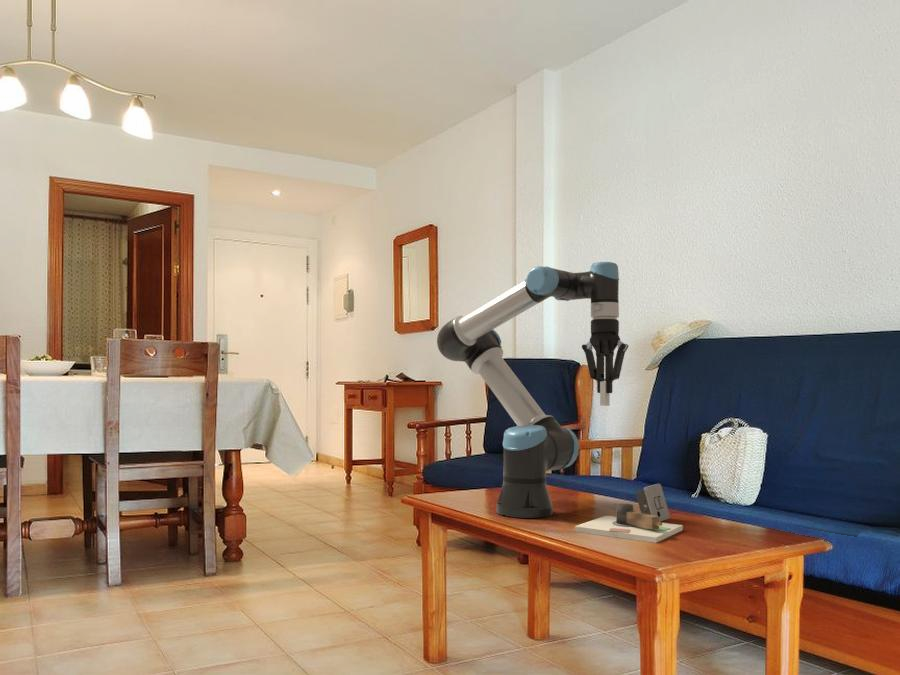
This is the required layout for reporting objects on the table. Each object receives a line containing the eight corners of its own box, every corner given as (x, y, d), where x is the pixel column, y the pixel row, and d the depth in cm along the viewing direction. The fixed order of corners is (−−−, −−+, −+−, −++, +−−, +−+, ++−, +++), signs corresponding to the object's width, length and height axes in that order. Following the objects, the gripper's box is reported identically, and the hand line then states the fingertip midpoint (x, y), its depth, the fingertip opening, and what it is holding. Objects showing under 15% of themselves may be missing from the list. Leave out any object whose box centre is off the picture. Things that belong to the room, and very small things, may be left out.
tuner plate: (573, 531, 176) (573, 525, 176) (606, 520, 191) (606, 514, 191) (655, 543, 165) (655, 536, 165) (682, 530, 179) (682, 524, 179)
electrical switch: (656, 524, 187) (652, 487, 188) (636, 523, 190) (633, 487, 191) (670, 519, 194) (667, 483, 195) (652, 518, 197) (648, 483, 198)
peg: (612, 522, 180) (612, 504, 181) (625, 520, 183) (624, 503, 183) (654, 532, 169) (654, 513, 169) (667, 530, 171) (666, 511, 171)
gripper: (576, 318, 203) (576, 405, 201) (621, 316, 195) (621, 406, 194) (589, 320, 209) (589, 404, 207) (632, 319, 201) (633, 405, 200)
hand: (604, 405), depth 200 cm, fingers closed
